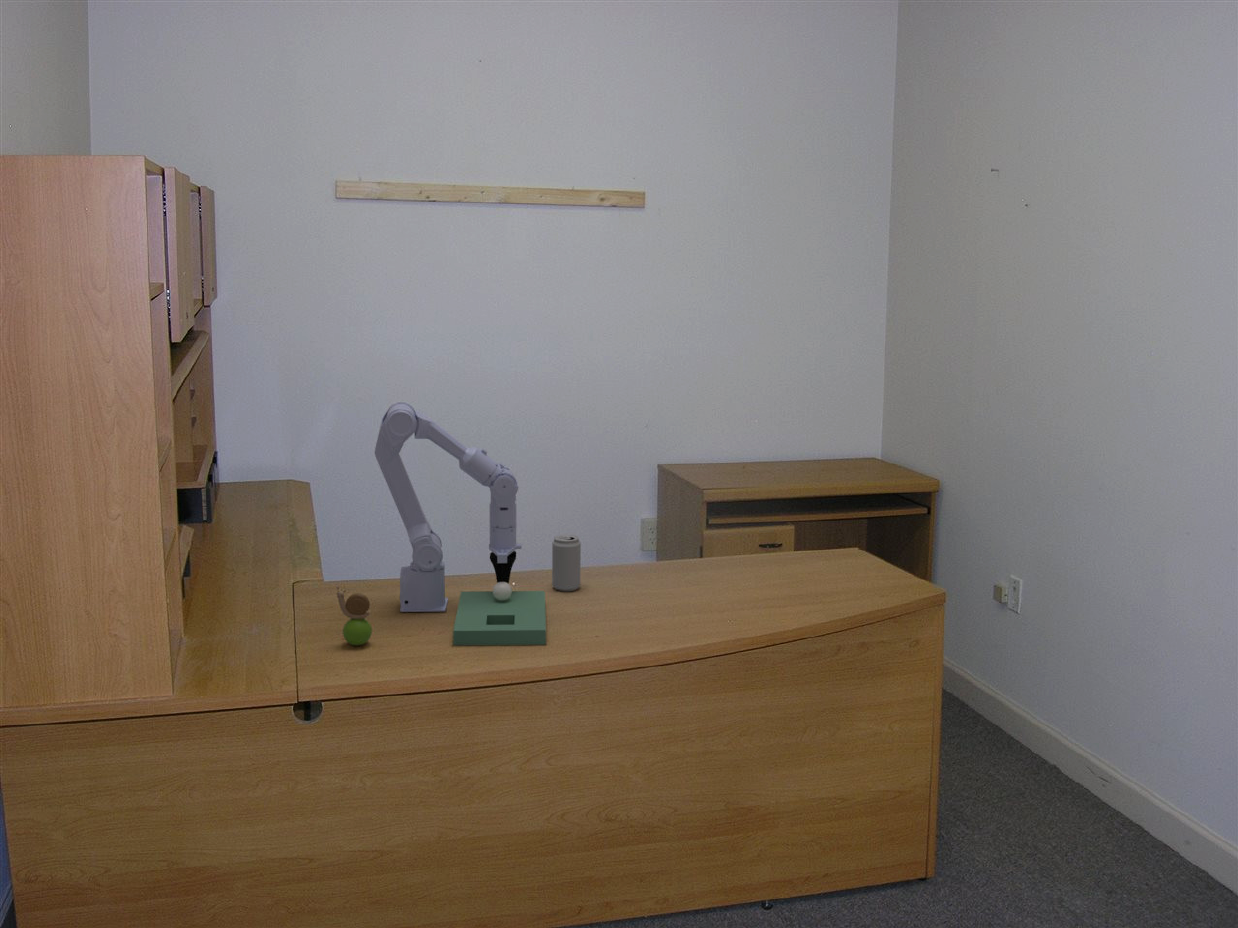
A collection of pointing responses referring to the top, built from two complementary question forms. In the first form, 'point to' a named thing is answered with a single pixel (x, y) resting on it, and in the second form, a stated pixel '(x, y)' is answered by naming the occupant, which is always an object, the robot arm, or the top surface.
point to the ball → (502, 591)
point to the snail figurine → (355, 618)
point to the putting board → (500, 619)
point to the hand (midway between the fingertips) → (503, 585)
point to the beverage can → (566, 562)
